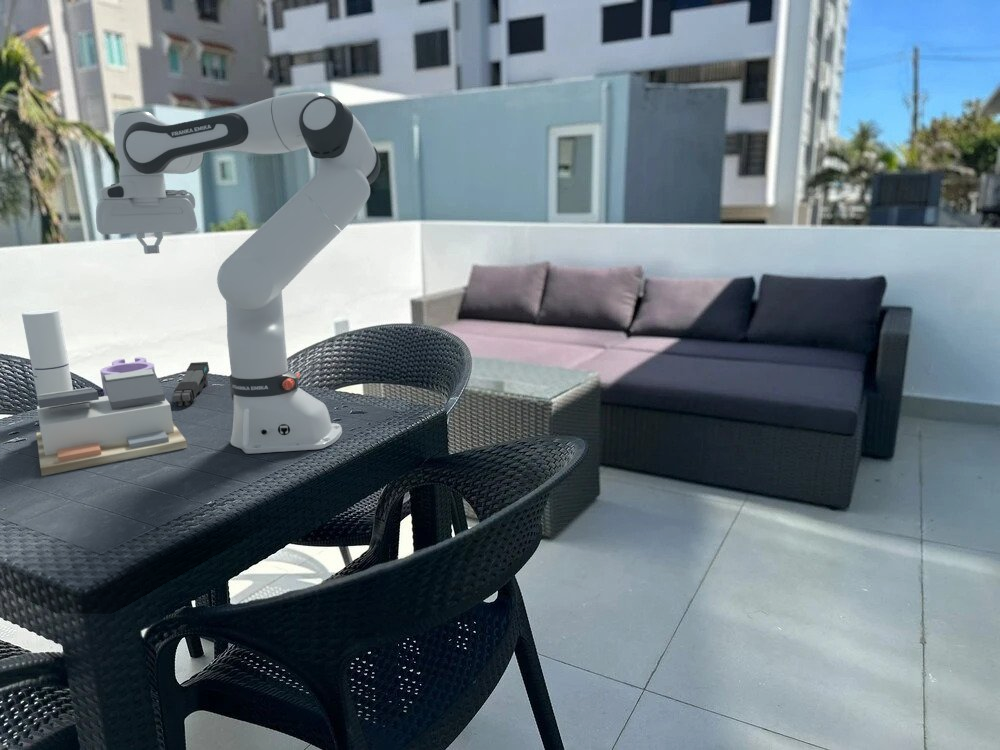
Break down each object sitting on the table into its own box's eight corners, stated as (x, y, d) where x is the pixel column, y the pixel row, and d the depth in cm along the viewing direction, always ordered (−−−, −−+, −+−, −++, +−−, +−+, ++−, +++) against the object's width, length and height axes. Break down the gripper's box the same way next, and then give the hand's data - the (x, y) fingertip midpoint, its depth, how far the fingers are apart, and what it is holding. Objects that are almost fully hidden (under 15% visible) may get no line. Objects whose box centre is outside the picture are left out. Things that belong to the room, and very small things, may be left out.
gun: (213, 383, 192) (206, 351, 186) (198, 427, 175) (190, 395, 170) (196, 383, 191) (188, 352, 186) (179, 429, 175) (170, 396, 169)
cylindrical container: (60, 424, 159) (41, 314, 153) (34, 422, 161) (13, 314, 155) (84, 414, 166) (67, 309, 160) (58, 413, 167) (40, 309, 161)
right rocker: (103, 382, 151) (102, 374, 150) (154, 375, 156) (153, 367, 156) (111, 409, 142) (110, 400, 142) (165, 400, 148) (164, 392, 147)
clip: (108, 385, 193) (104, 360, 192) (158, 379, 198) (154, 355, 197) (102, 403, 176) (97, 376, 174) (157, 397, 181) (153, 371, 179)
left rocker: (39, 403, 145) (37, 394, 145) (94, 395, 150) (93, 386, 150) (39, 408, 135) (37, 398, 135) (98, 399, 140) (97, 390, 140)
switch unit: (37, 439, 149) (30, 399, 147) (165, 417, 163) (160, 381, 161) (41, 475, 129) (33, 430, 127) (187, 447, 143) (181, 406, 140)
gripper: (190, 190, 164) (197, 250, 167) (90, 190, 153) (100, 255, 156) (196, 189, 159) (203, 251, 162) (92, 190, 148) (103, 256, 151)
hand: (152, 253), depth 159 cm, fingers closed
